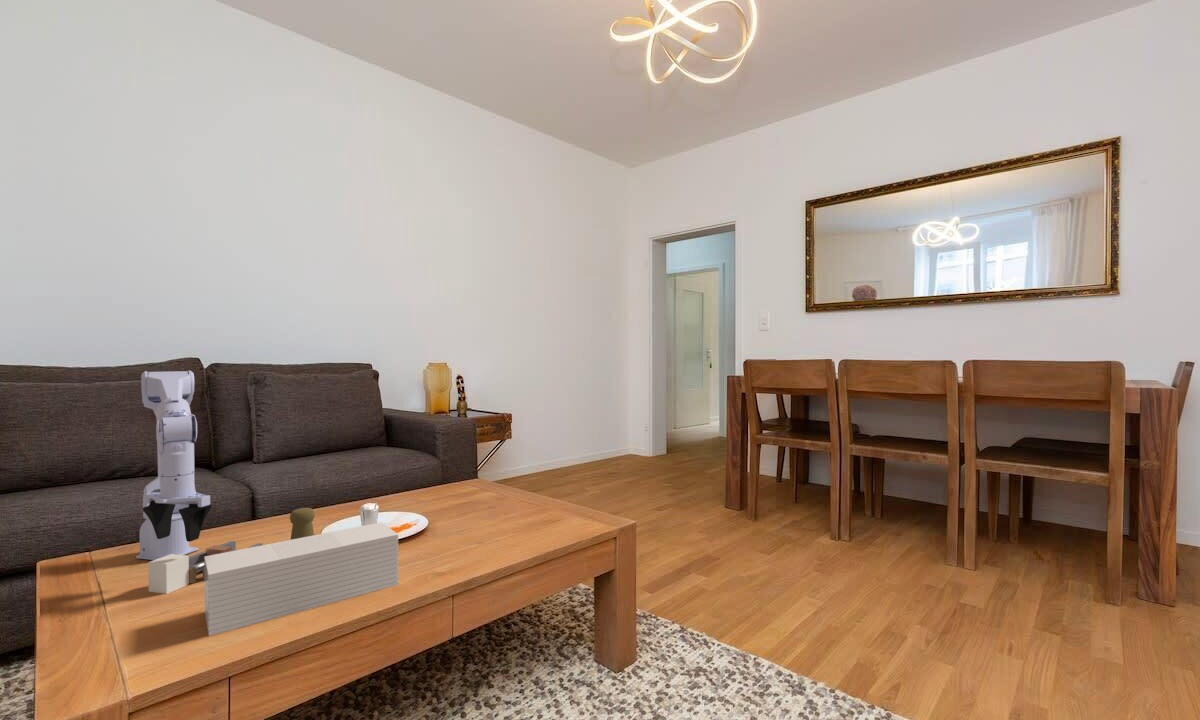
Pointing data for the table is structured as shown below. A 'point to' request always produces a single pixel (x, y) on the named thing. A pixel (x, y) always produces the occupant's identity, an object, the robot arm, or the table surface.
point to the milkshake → (369, 513)
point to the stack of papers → (297, 575)
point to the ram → (199, 566)
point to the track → (200, 556)
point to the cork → (302, 523)
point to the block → (168, 573)
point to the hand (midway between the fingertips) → (178, 538)
